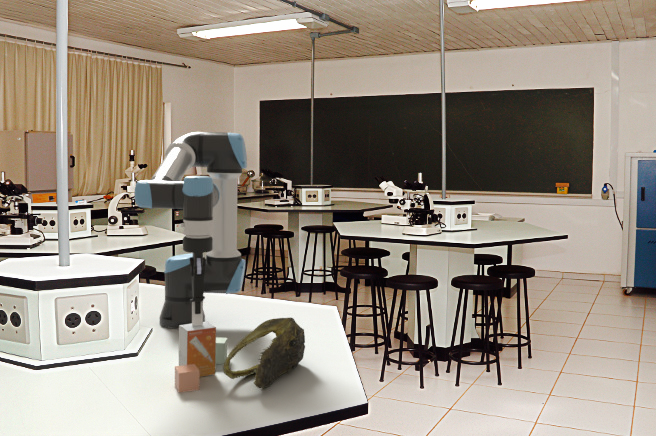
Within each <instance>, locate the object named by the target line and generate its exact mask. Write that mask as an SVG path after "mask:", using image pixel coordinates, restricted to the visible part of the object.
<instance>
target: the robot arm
mask: <svg viewBox="0 0 656 436" xmlns="http://www.w3.org/2000/svg"><path fill="white" fill-rule="evenodd" d="M247 158H248V157H247V149H246V143H245V138H244V137H243V135H242V134H241V133H236V132H229V131H228V132H225V131H224V132H222V131H221V132H220V131H219V132H218V131H214V132H213V131H211V132H210V131H194V132H189V133H187V134H184V135H181V136H180V137H178V138H176V139H175V140H174V141H172V142H171V143H170V144H169V145H168V147H167V148H166V150H165V154H164V159H163V160H162V161H161V163H160V165H159V166H158V168H157V169H156V171H155V172H154V174H153V175H152V177H151V178H150V179H144V180H138V181H137V182H136V183H135V186H134V201H135V205H136V206H137V207H139V208H145V209H146V208H147V209H168V210H169V209H171V210H172V209H173V210H175V209H177V210H183V211H182V213H183V215H182V217H183V218H182V221H183V222H182V223H180V227H182V228H183V230H182V233H183V235H184V236H183V238H182V251H184V252H185V253H183V254H182V253H181V254H177V255H173V256H169V257H168V258H167V259H166V260H165V264H164V272H163V273H164V302H163V306H162V308H161V311H160V315H159V325H161V326H162V327H164V328H170V329H179V325H185V324H191V323H192V326H201V325H203V322H206V315H205V310H204V300H205V298H206V296H204V294H225V295H228V294H237V293H239V292H240V291H241V289H242V286H243V282H244V278H245V277H244V276H245V272H246V271H245V270H246V259H243V258H242V253H241V252H240V251H239V250H238V247H237V246H238V243H237V241H238V239H237V238H238V235H237V234H238V179H239V178H240V177H241V175H242V174H243V170H244V169H247V167H248V163H247V162H248V159H247ZM191 168H206V174H207V175H209V176H207V175H187V176H185V175H186V173H187V171H188V170H190V169H191ZM184 176H185V177H184ZM204 253H206V256H205V257H204Z"/></svg>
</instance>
